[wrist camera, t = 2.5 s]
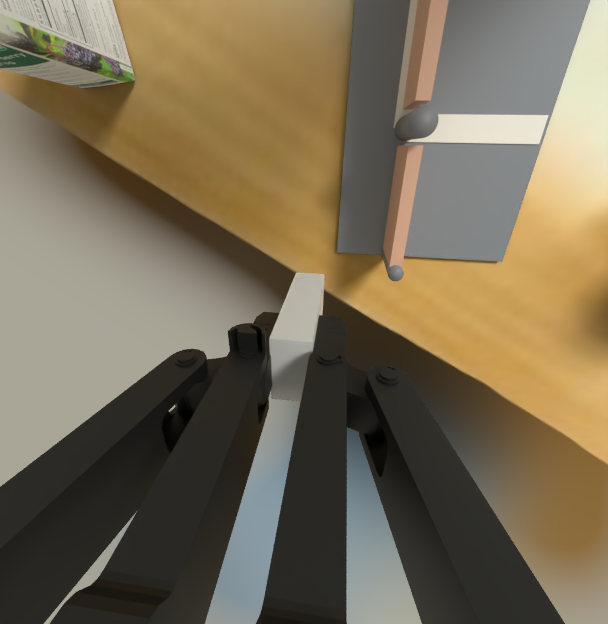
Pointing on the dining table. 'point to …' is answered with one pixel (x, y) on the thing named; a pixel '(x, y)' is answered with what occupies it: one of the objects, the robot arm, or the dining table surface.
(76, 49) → the syrup box
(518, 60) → the card
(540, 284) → the dining table surface
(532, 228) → the dining table surface
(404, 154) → the fence panel
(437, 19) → the fence fixed
